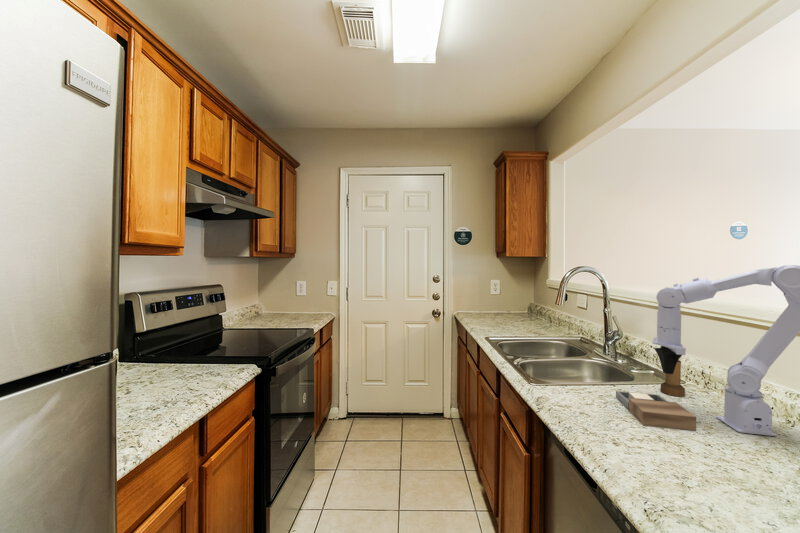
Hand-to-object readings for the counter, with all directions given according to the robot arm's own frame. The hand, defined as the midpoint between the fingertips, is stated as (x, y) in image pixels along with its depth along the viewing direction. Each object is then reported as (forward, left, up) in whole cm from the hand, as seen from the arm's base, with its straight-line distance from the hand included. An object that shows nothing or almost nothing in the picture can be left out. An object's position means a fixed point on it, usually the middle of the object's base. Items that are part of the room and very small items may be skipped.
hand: (667, 373), depth 106 cm
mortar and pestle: (+15, -8, -11) cm, 20 cm away
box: (0, +6, -10) cm, 12 cm away
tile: (+1, +6, -8) cm, 10 cm away
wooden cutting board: (-10, +6, -10) cm, 16 cm away
